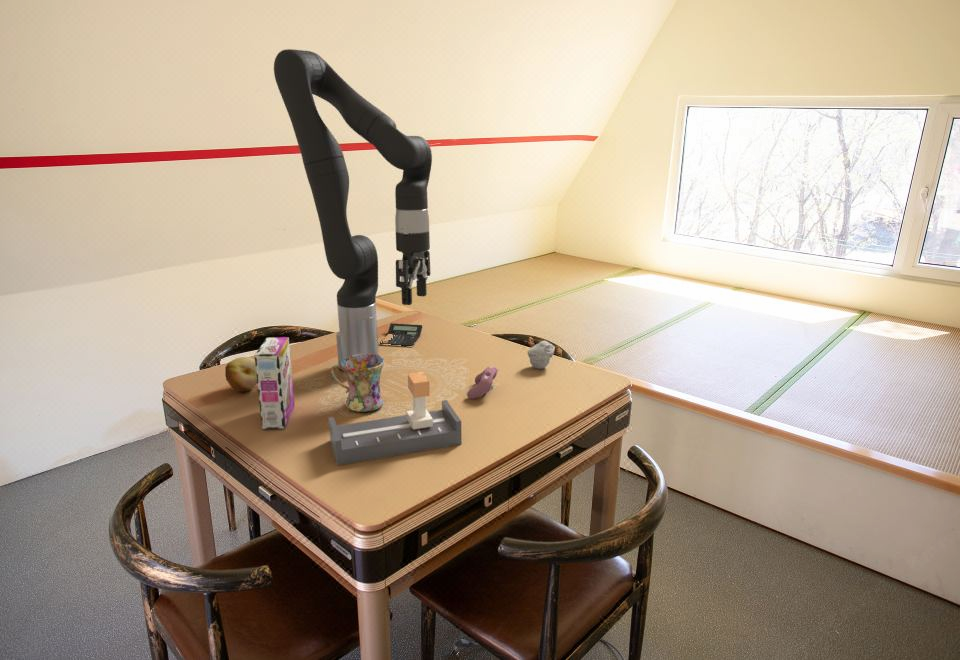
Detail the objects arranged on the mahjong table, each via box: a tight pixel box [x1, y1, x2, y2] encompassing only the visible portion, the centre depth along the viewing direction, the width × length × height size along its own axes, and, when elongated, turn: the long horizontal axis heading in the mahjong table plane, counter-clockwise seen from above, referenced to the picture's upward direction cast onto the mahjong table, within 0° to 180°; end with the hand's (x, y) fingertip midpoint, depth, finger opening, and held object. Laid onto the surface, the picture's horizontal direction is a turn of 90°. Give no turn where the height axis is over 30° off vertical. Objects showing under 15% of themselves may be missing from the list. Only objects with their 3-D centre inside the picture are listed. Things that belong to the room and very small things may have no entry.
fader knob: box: [406, 371, 433, 429], centre depth 128 cm, size 4×5×10 cm
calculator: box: [379, 322, 423, 347], centre depth 185 cm, size 9×12×3 cm
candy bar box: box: [254, 336, 296, 430], centre depth 136 cm, size 11×5×16 cm, turn 5°
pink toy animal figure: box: [466, 365, 499, 400], centre depth 150 cm, size 10×5×7 cm, turn 169°
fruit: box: [224, 356, 258, 392], centre depth 151 cm, size 8×8×8 cm
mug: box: [330, 354, 386, 413], centre depth 143 cm, size 12×9×11 cm
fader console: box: [328, 399, 463, 466], centre depth 128 cm, size 24×10×5 cm, turn 109°
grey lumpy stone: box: [527, 340, 556, 370], centre depth 164 cm, size 6×7×7 cm
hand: (414, 300), depth 150 cm, fingers open, 8 cm apart
